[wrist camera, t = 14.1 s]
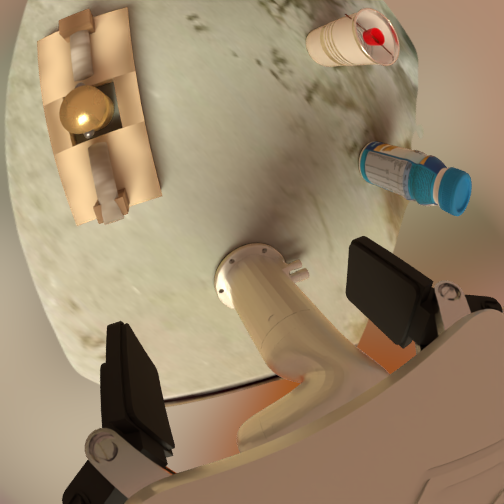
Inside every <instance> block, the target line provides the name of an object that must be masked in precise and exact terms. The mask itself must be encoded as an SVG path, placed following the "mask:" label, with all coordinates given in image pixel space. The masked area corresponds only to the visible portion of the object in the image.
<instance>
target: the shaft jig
mask: <svg viewBox="0 0 504 504" xmlns="http://www.w3.org/2000/svg"><path fill="white" fill-rule="evenodd" d="M37 47H38V65H39V76H40V85H41V93H42V100H43V106H44V112H45V117H46V123H47V127H48V132H49V137H50V141H51V145H52V149H53V153H54V157H55V161H56V165H57V168H58V172H59V175H60V178H61V182H62V185H63V188H64V191H65V194H66V197H67V200H68V203H69V206H70V208H71V211H72V214H73V217H74V219H75V222H76V224H77V226H79V225H81V224H84V223H86V222H89V221H91V220H94V219H97V220H98V223H99V224H101V223H103V222H104V225H106V224H110V223H113V222H116V221H118V220H121V219H123V218H124V215H126V214H128V211H129V207H130V206H133V205H136V204H139V203H142V202H145V201H148V200H151V199H154V198H157V197H161V196H162V193H161V189H160V185H159V181H158V177H157V173H156V169H155V165H154V161H153V157H152V153H151V148H150V144H149V140H148V135H147V130H146V126H145V121H144V116H143V111H142V106H141V101H140V95H139V90H138V84H137V78H136V72H135V65H134V59H133V51H132V44H131V36H130V27H129V17H128V7H126V8H122V9H119V10H115V11H112V12H108V13H105V14H102V15H99V16H96V17H93V16H92V14H91V11H90V9H86V10H84V11H81V12H78V13H76V14H73V15H71V16H68V17H66V18H64V19H61V20H59V31H58V32H55V33H53V34H51V35H49V36H47V37H45V38H43V39H41V40H39V41H37ZM80 82H83V83H84V84H85V85H89V86H93V87H95V88H96V87H99V86H102V85H105V84H108V83H111V82H114V86H115V91H116V97H117V102H118V108H119V113H120V118H121V122H122V127H123V128H121V129H118V130H115V131H112V132H109V133H107V134H104V135H101V136H98V137H96V138H93V139H91V140H88V141H85V142H83V143H81V144H78V145H77V142H76V137H75V134H74V133H71V132H69V131H67V130H66V129H65V128H64V127H63V126H62V124H61V122H60V117H59V111H60V106H61V104H62V101H63V100H64V98H65V97H66V95H67V94H68V93H69V92H71V91H72V90H73V89H75V86H76V85H77V84H78V83H80Z"/></svg>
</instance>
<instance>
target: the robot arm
mask: <svg viewBox="0 0 504 504" xmlns="http://www.w3.org/2000/svg"><path fill="white" fill-rule="evenodd" d="M301 267H302V263H301V261H300V260H296V261H293V262H292V263H289V264H287V263H285V261H284V259H283V257H282V255H281V254H280V253H279V252H278V251H277V250H276V249H275V248H273V247H271V246H269V245H266V244H262V243H253V244H247V245H244V246H241V247H239V248H237V249H235V250H234V251H232V252H231V253H230V254H228V255H227V256H226V257H225V259H224V260H223V261H222V262H221V264H220V265H219V267H218V269H217V271H216V274H215V279H214V286H215V291H216V293H217V296H218V297H219V299H220V300H221V302H222V303H223V304H225V305H226V306H228V307H229V308H232V309H235V310H236V311H237V313H238V315H239V317H240V319H241V320H242V322H243V324H244V326H245V328H246V329H247V331H248V333H249V335H250V337H251V338H252V340H253V342H254V344H255V345H256V347H257V349H258V351H259V353H260V354H261V356H262V358H263V359H264V361H265V363H266V364H267V366H268V367H269V368H270V369H271V370H272V371H273V372H274V373H275V374H277V375H278V376H280V377H282V378H285V379H287V380H291V381H295V382H299V383H301V384H300V385H299V386H297V387H296V388H295V389H294V390H292V391H291V392H290V393H288V394H287V395H285V396H284V397H282V398H281V399H279V400H278V401H276V402H274V403H273V404H271V405H270V406H268V407H266V408H265V409H263V410H262V411H260V412H258V413H257V414H255V415H254V416H252V417H251V418H249V419H248V420H247V421H245V422H244V423H243V424H242V426H241V427H240V429H239V431H238V433H237V445H238V448H239V451H240V453H239V454H236V455H234V456H231V457H228V458H225V459H222V460H219V461H216V462H213V463H209V464H206V465H203V466H199V467H196V468H193V469H190V470H187V471H183V472H180V473H176V472H174V471H173V470H171V469H170V468H168V467H167V466H166V465H167V464H168V463H167V460H166V457H170V456H173V453H172V450H171V449H173V448H175V444H174V440H173V437H172V433H171V429H170V425H169V421H168V417H167V413H166V409H165V404H164V400H163V395H162V390H161V386H160V381H159V375H158V372H157V369H156V367H155V365H154V364H153V362H152V361H151V359H150V358H149V356H148V355H147V353H146V352H145V350H144V349H143V347H142V345H141V344H140V342H139V341H138V339H137V337H136V336H135V334H134V332H133V331H132V329H131V327H130V326H129V324H128V323H126V324H124V323H123V322H122V321H119V322H116V323H113V324H110V325H108V326H107V338H106V363H103V364H102V365H101V368H100V389H101V390H100V393H101V415H102V416H101V417H102V428H99V429H97V430H94V431H93V432H92V433H91V434H90V435H89V436H88V438H87V440H86V443H85V453H86V457H87V458H88V460H87V462H86V463H85V465H84V466H83V467H82V468H81V470H80V471H79V472H78V474H77V475H76V476H75V478H74V479H73V480H72V482H71V483H70V485H69V486H68V487H67V489H66V490H65V492H64V494H63V498H62V501H63V504H504V307H501V305H500V304H499V303H498V302H497V300H496V299H494V298H491V297H485V296H474V295H464V292H463V290H462V289H461V288H460V287H459V286H458V285H457V284H455V283H453V282H450V281H440V282H438V283H437V284H436V285H435V288H432V284H433V281H432V280H431V279H429V278H428V277H426V276H425V275H423V274H422V273H421V272H419V271H417V270H416V269H415V268H413V267H411V266H410V265H409V264H407V263H406V262H404V261H403V260H401V259H400V258H398V257H397V256H395V255H394V254H392V253H391V252H389V251H388V250H386V249H385V248H383V247H382V246H380V245H378V244H377V243H375V242H374V241H372V240H370V239H369V238H367V237H365V236H362V237H359V238H357V239H354V240H352V242H351V245H350V246H349V257H348V271H347V283H346V296H347V298H348V300H349V301H350V302H352V303H353V304H354V305H355V306H356V307H357V308H358V309H359V310H360V311H361V312H362V313H363V314H364V315H365V316H366V317H368V318H369V319H370V320H371V321H372V322H373V323H374V324H375V325H376V326H377V327H378V328H379V329H380V330H381V331H382V332H383V333H384V334H385V335H386V336H388V338H390V339H391V340H392V341H393V342H394V343H395V344H397V345H400V346H401V347H402V348H405V347H406V346H408V345H409V344H410V343H411V342H412V340H413V341H414V342H415V345H416V356H415V357H413V358H412V359H411V360H409V361H408V362H407V363H405V364H404V365H403V366H401V367H400V368H399V369H397V370H396V371H395V372H393V373H392V374H389V373H388V372H387V371H386V370H385V369H384V368H383V367H382V366H381V365H379V364H378V363H377V362H375V361H374V360H373V359H371V358H370V357H369V356H367V355H366V354H365V353H363V352H362V351H361V350H360V349H358V348H357V347H356V346H355V345H353V344H352V343H351V342H350V341H349V340H348V339H347V338H346V337H345V336H344V335H342V334H341V333H340V332H339V331H338V330H337V329H336V327H335V326H334V325H333V324H332V323H331V322H330V321H329V320H328V319H327V318H326V317H325V316H324V315H323V314H322V312H321V311H320V310H319V309H318V308H317V307H316V306H315V305H314V304H313V303H312V302H311V300H310V299H309V298H308V297H307V296H306V295H305V294H304V293H303V292H302V291H301V290H300V288H299V287H298V286H297V285H296V284H295V283H296V282H300V281H303V280H305V279H308V278H309V272H308V270H307V269H306V268H303V269H301V270H298V271H296V272H294V273H292V274H290V271H292V270H295V269H298V268H301Z"/></svg>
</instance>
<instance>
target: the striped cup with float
mask: <svg viewBox="0 0 504 504" xmlns="http://www.w3.org/2000/svg"><path fill="white" fill-rule="evenodd" d="M345 15H346V17H343V18H340V19H337V20H335V21H332V22H330V23H328V24H326V25H324V26H321V27H319V28H317V29H315V30H313V31H311V32H310V33H309V34H308V36H307V38H306V48H307V51H308V53H309V55H310V56H311V58H312V59H313V60H314V61H315V62H317V63H318V64H320V65H322V66H326V67H332V66H352V65H369V64H380V65H383V66H390V65H392V64H393V63H395V62H396V60H397V58H398V56H399V51H400V46H399V40H398V36H397V33H396V31H395V29H394V27H393V26H392V24H391V23H390V21H389V20H388V19H387V18H386V17H385V16H384V15H383V14H381V13H380V12H378V11H376V10H374V9H371V8H364V9H361V10H360V11H358V12H357V13H354V14H351V15H349V16H348V15H347V14H345Z"/></svg>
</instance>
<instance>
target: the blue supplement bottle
mask: <svg viewBox="0 0 504 504" xmlns="http://www.w3.org/2000/svg"><path fill="white" fill-rule="evenodd" d="M359 171H360V174H361V176H362V177H363V179H364V180H365V181H367V182H368V183H371V184H374V185H377V186H379V187H382V188H384V189H387V190H389V191H391V192H394V193H396V194H398V195H400V196H403V197H404V198H405V199H407V200H410V201H417V202H418V203H419V204H420V205H423V206H435V205H438V206H439V207H440V208H441V209H442V210H444V211H446V212H448V213H450V214H452V215H454V216H460V215H461V214H462V213H463V212H464V211H465V209H466V207H467V204H468V202H469V199H470V195H471V187H472V184H471V178H470V176H469V174H468V173H466V172H464V171H462V170H459V169H456V168H453V167H448V168H447V167H446V166H445V165H444V164H443V163H442V162H441V161H440V160H439V159H438V158H436V157H435V156H432V155H429V156H427V155H426V154H425V153H423V152H420V151H416V150H410V149H406V148H402V147H398V146H393V145H389V144H385V143H382V142H377V141H373V142H370V143H368V144H367V145H366V146H365V147H364V148H363V150H362V152H361V154H360V158H359Z"/></svg>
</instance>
